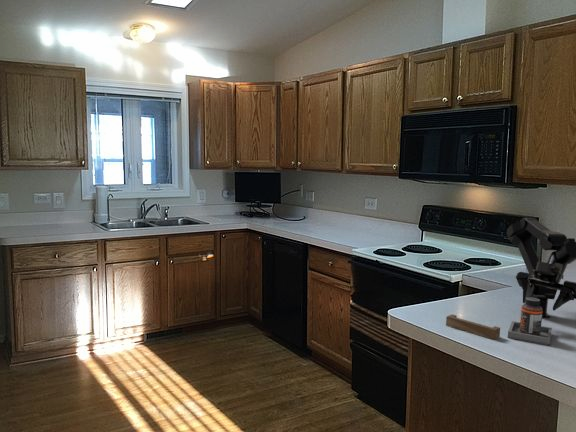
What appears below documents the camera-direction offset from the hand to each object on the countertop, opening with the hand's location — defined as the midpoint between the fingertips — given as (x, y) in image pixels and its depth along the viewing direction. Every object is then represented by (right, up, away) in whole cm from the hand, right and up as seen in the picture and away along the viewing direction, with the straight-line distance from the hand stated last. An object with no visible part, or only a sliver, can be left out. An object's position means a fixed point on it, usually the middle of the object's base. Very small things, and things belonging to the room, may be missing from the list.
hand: (538, 306), depth 159 cm
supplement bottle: (-4, -8, -3) cm, 10 cm away
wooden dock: (-21, -8, 0) cm, 22 cm away
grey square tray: (-4, -9, -3) cm, 10 cm away
